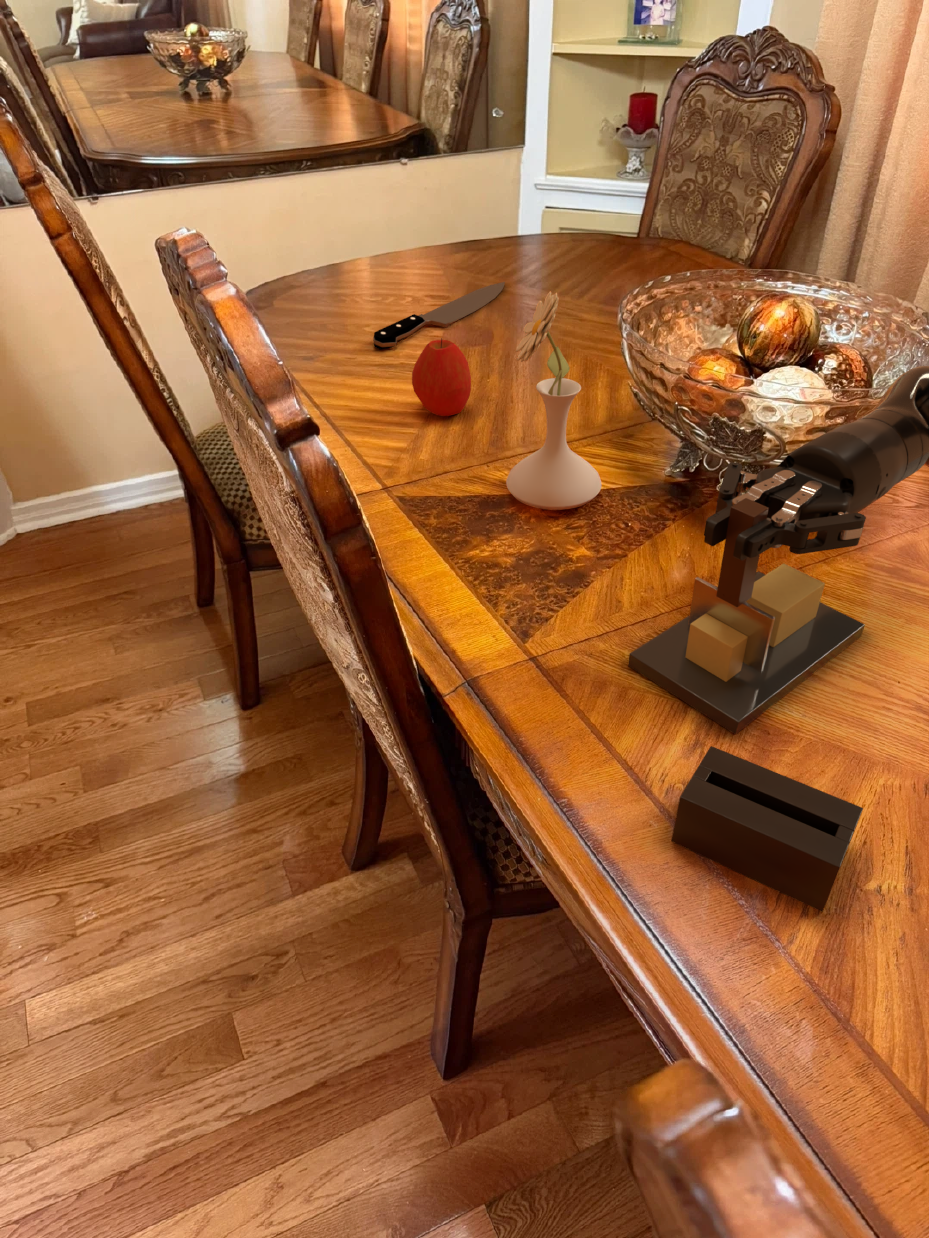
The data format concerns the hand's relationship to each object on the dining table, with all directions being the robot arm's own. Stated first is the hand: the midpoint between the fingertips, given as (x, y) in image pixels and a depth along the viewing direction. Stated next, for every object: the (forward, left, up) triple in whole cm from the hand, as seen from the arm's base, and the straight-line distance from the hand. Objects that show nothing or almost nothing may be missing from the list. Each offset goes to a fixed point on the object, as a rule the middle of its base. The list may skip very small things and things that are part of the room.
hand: (724, 541), depth 70 cm
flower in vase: (+21, -29, -16) cm, 39 cm away
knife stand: (-7, +16, -16) cm, 24 cm away
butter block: (-6, -10, -14) cm, 18 cm away
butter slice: (-1, -2, -14) cm, 14 cm away
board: (-4, -7, -16) cm, 17 cm away
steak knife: (+56, -86, -16) cm, 104 cm away
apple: (+42, -48, -16) cm, 66 cm away
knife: (-2, -3, -13) cm, 13 cm away
